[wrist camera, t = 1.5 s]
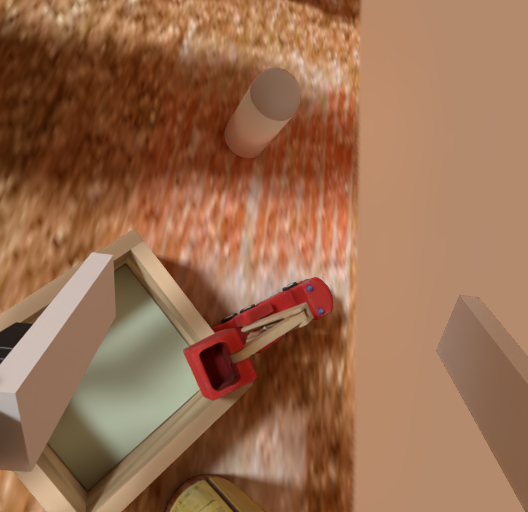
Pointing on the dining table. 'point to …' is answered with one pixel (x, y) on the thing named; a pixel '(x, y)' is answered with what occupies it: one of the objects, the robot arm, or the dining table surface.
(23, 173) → the dining table surface
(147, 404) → the caddy
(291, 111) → the salt shaker
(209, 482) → the sauce bottle
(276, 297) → the toy fire truck
